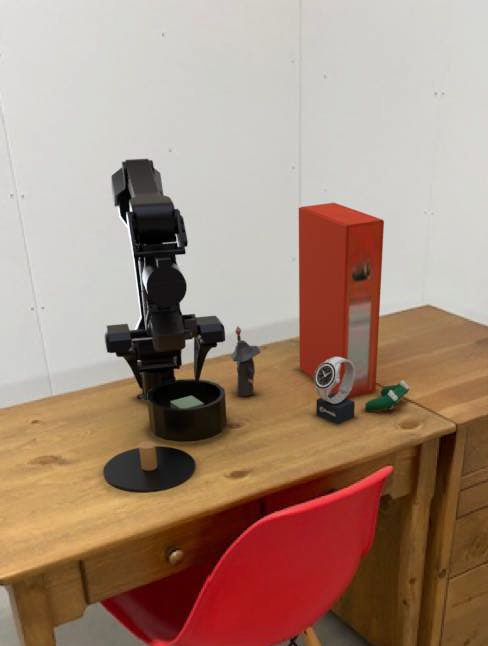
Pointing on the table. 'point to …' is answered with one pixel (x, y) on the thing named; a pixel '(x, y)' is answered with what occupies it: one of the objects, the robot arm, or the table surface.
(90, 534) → the table surface
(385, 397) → the green toy shoe
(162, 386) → the pot
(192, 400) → the block
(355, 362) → the file binder
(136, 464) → the lid
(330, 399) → the watch
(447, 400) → the table surface
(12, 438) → the table surface
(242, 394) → the wizard figurine
